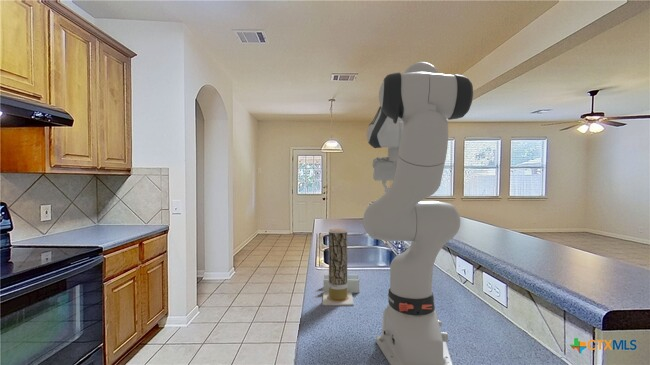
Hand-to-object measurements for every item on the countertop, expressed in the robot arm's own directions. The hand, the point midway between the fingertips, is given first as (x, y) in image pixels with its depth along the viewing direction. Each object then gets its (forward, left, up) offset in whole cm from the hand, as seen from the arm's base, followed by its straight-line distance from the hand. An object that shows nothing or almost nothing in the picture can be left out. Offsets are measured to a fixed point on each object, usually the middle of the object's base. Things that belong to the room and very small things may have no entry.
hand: (398, 192), depth 126 cm
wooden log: (-10, +24, -39) cm, 47 cm away
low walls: (0, +23, -39) cm, 45 cm away
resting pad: (-10, +24, -39) cm, 47 cm away
